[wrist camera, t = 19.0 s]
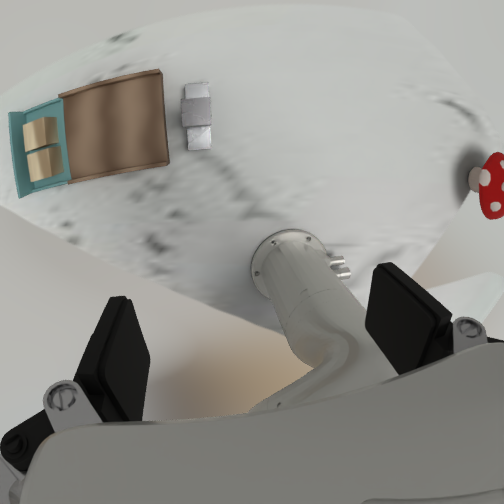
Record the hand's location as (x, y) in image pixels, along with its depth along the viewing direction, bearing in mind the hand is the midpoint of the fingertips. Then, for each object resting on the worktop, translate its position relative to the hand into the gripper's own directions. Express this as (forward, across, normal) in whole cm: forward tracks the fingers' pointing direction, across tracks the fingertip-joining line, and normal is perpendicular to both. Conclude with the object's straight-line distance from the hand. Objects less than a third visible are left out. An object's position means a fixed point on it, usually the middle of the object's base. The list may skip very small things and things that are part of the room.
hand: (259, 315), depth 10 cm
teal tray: (+32, +26, -10) cm, 42 cm away
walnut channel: (+32, +14, -10) cm, 36 cm away
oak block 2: (+30, +23, -7) cm, 38 cm away
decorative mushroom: (+32, -52, +1) cm, 61 cm away
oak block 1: (+30, +23, -11) cm, 39 cm away
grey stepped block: (+32, +2, -9) cm, 33 cm away
